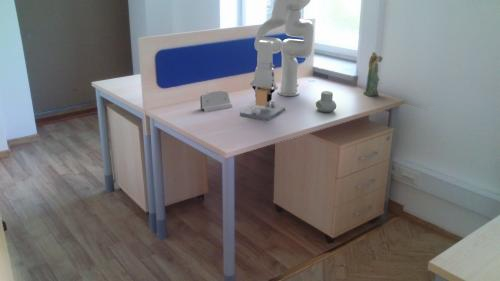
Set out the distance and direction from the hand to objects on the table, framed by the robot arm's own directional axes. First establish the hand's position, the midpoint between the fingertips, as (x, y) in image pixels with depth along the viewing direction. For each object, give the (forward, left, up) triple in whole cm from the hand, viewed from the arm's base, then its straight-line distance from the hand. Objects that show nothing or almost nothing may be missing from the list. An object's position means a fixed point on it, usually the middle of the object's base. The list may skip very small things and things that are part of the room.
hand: (263, 99), depth 246 cm
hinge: (+6, -25, -7) cm, 27 cm away
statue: (-64, +38, -7) cm, 75 cm away
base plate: (0, 0, -7) cm, 7 cm away
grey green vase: (-21, +26, -7) cm, 34 cm away
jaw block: (0, 0, -1) cm, 1 cm away
